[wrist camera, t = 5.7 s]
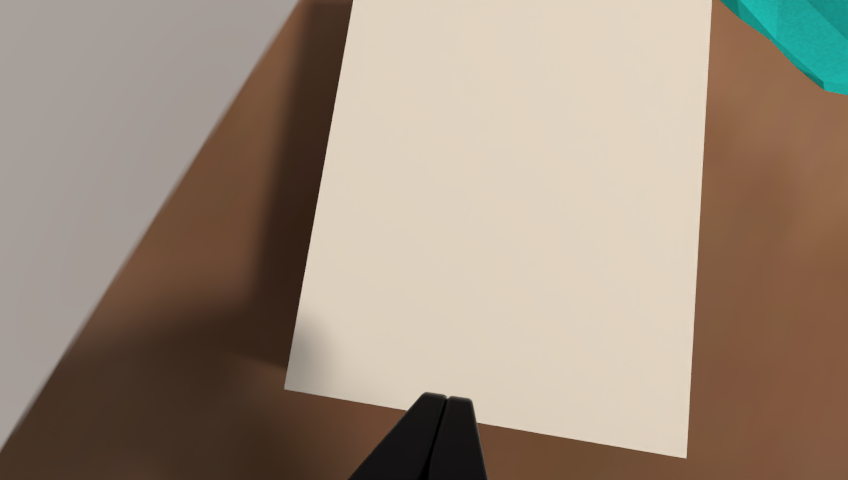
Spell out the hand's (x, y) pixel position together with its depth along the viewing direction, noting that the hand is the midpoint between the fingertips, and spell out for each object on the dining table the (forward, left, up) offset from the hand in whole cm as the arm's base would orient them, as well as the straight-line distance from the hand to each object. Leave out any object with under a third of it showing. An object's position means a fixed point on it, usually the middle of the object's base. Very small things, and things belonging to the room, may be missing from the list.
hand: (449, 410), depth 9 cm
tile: (0, +1, -6) cm, 6 cm away
